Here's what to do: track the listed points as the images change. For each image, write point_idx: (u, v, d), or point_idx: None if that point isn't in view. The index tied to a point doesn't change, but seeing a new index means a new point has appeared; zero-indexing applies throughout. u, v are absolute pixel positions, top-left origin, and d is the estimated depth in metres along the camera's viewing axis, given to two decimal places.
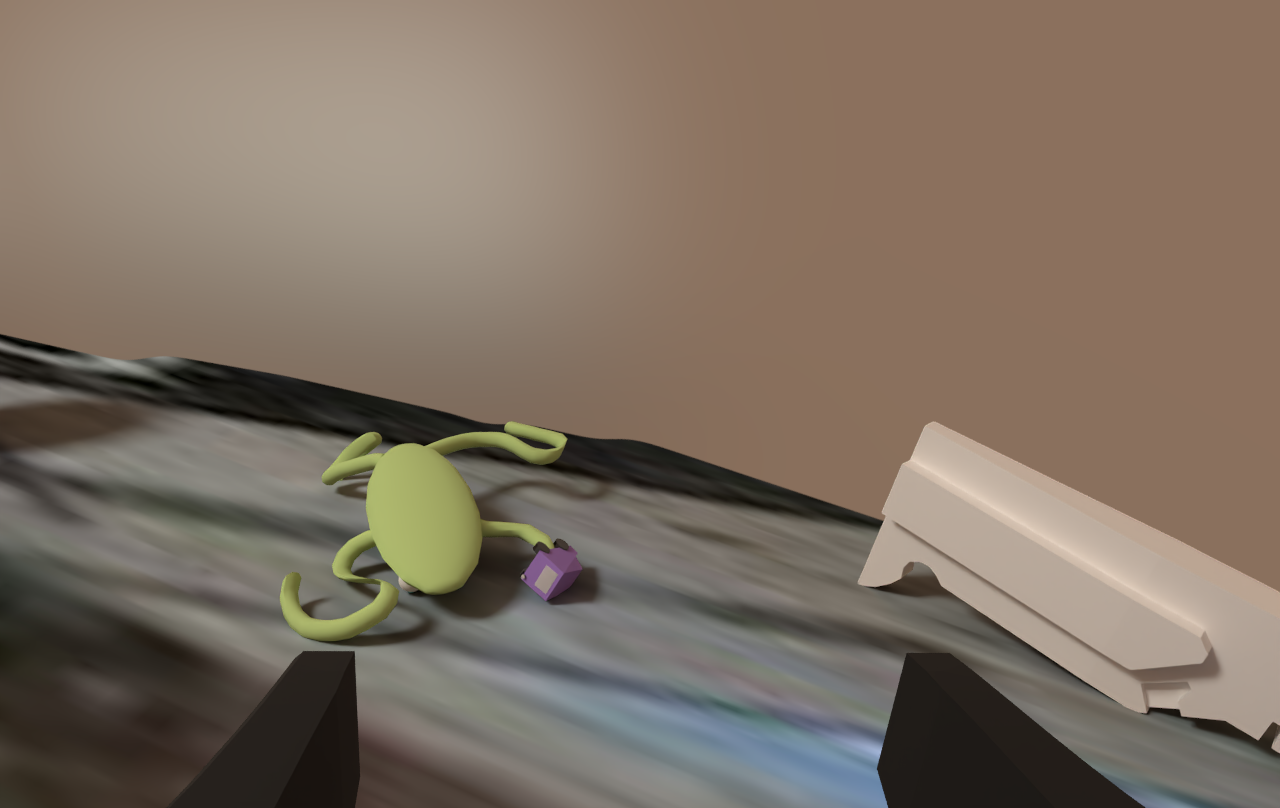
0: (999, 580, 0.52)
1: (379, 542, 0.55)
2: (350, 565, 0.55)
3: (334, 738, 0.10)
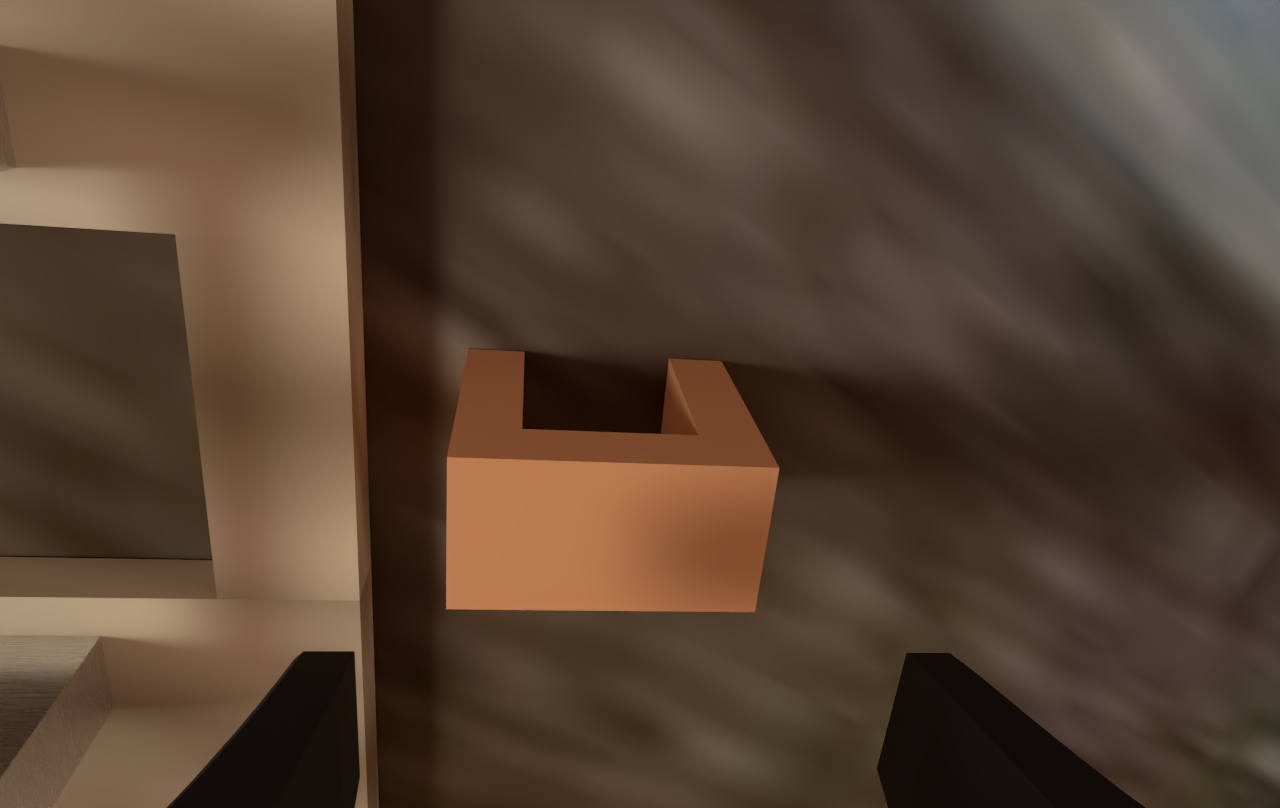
0: None
1: None
2: None
3: (334, 738, 0.10)
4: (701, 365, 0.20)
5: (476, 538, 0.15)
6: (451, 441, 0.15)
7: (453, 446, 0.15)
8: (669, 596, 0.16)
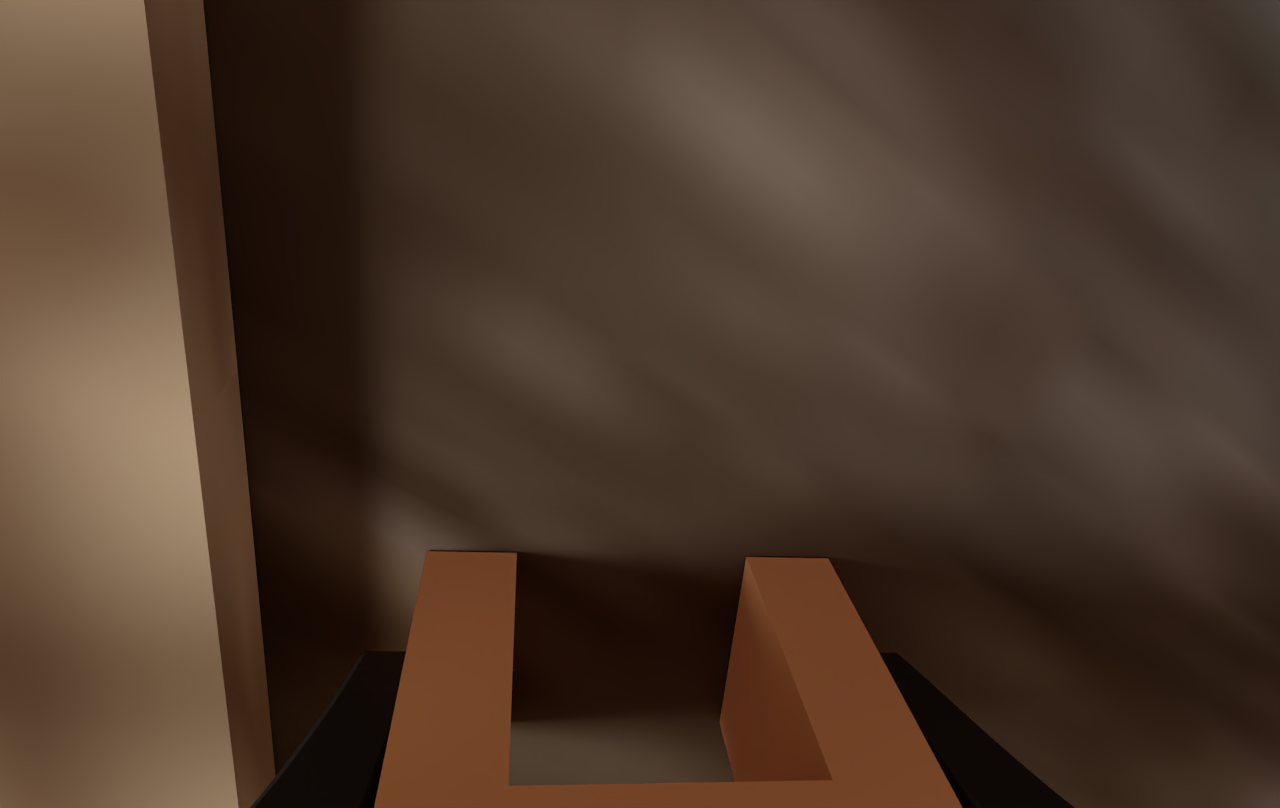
0: None
1: None
2: None
3: None
4: (798, 571, 0.12)
5: None
6: None
7: None
8: None
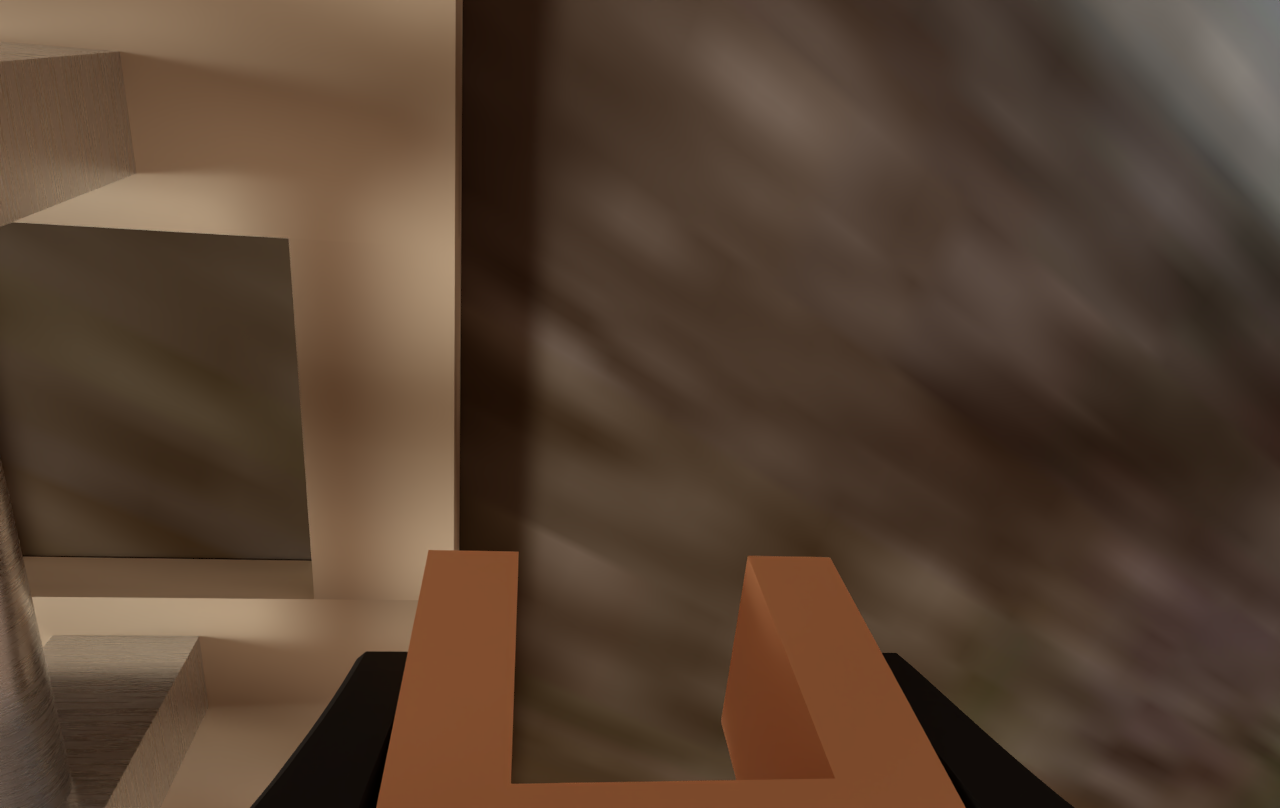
0: None
1: None
2: None
3: None
4: (801, 570, 0.12)
5: None
6: None
7: None
8: None
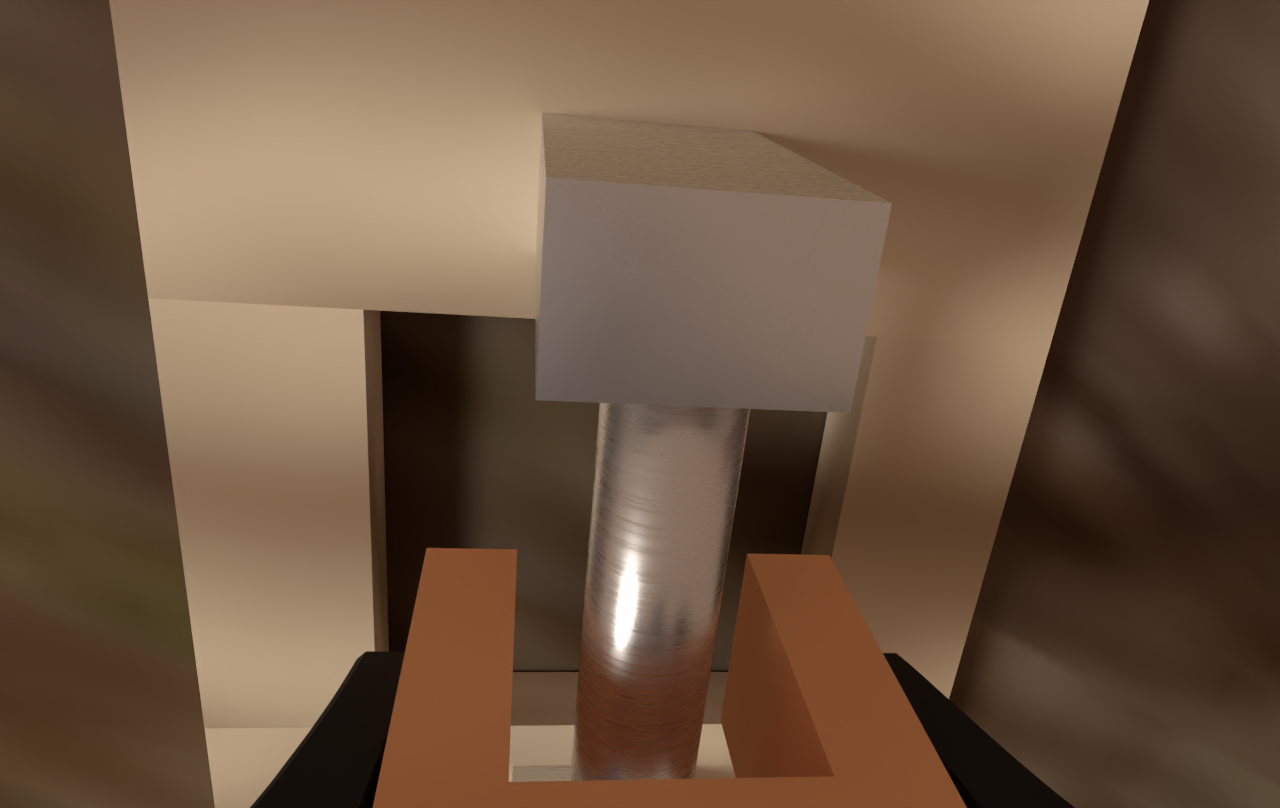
0: None
1: None
2: None
3: None
4: (800, 568, 0.12)
5: None
6: None
7: None
8: None
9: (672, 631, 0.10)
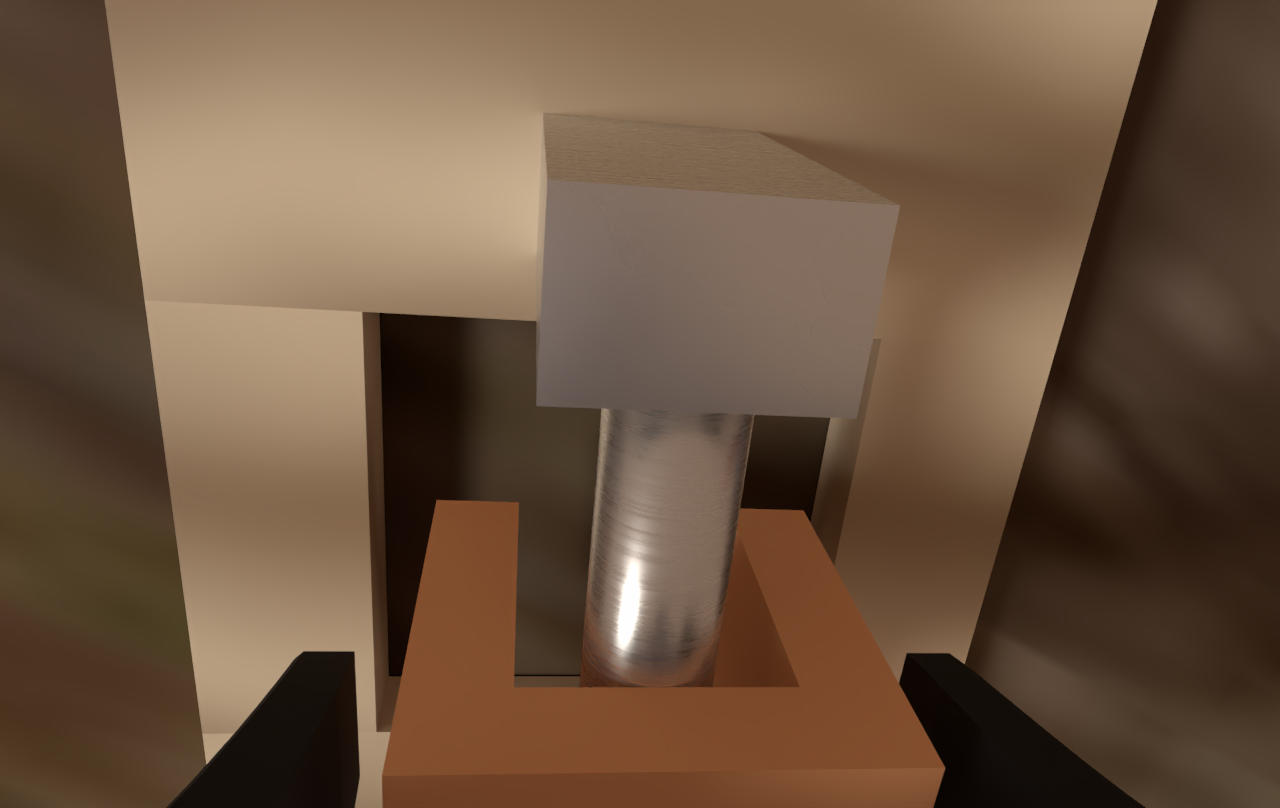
0: None
1: None
2: None
3: (334, 738, 0.10)
4: (776, 521, 0.13)
5: None
6: (393, 729, 0.09)
7: (395, 743, 0.09)
8: None
9: (675, 639, 0.10)
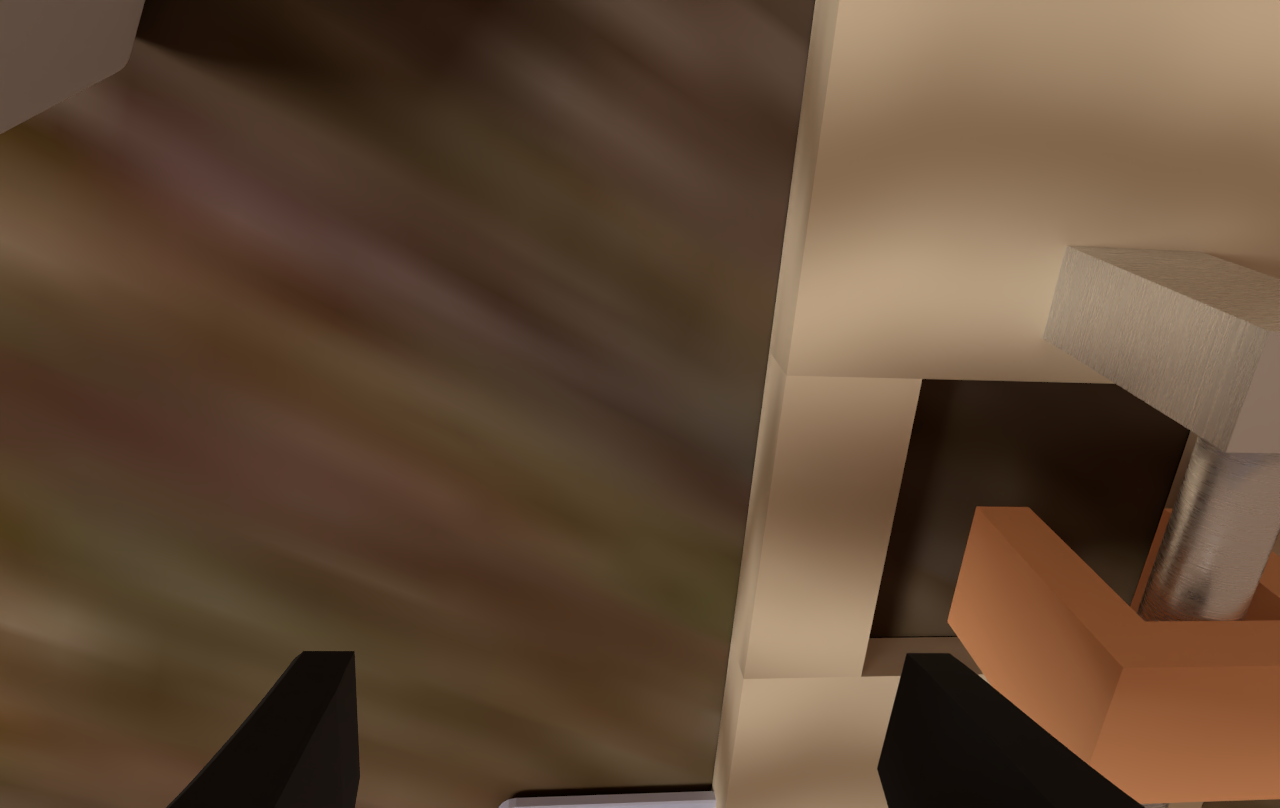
0: None
1: None
2: None
3: (334, 738, 0.10)
4: None
5: (1125, 740, 0.15)
6: (1103, 644, 0.15)
7: (1112, 651, 0.15)
8: None
9: (1244, 590, 0.15)
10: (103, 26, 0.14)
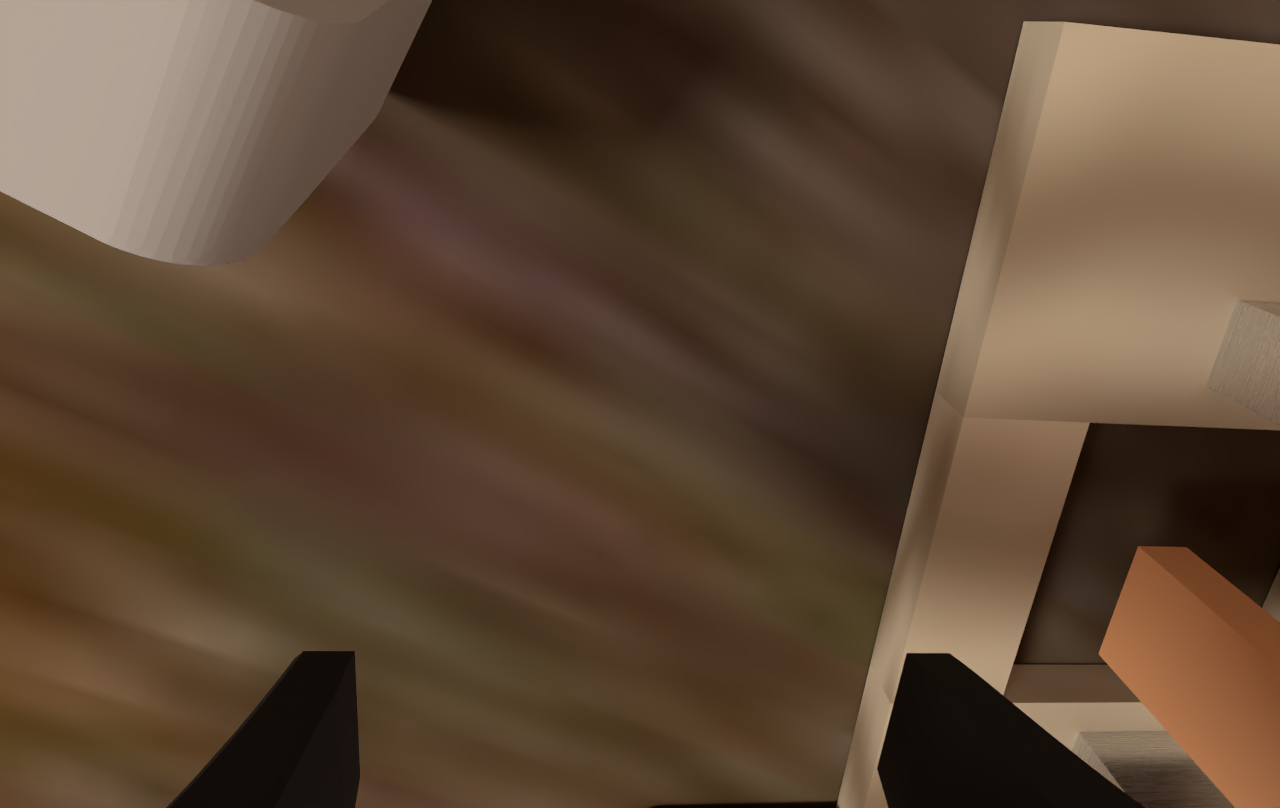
0: None
1: None
2: None
3: (334, 738, 0.10)
4: None
5: None
6: None
7: None
8: None
9: None
10: (383, 85, 0.14)
